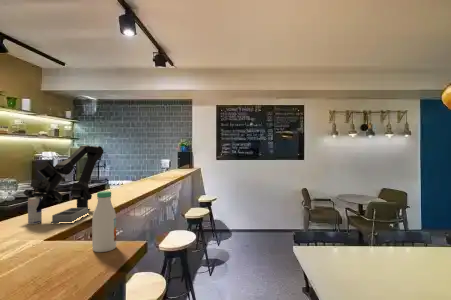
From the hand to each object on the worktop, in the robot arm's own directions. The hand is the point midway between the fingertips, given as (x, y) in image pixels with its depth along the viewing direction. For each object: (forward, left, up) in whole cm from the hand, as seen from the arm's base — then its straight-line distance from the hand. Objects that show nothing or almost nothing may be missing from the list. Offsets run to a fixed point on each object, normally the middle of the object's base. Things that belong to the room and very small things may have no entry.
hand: (32, 209), depth 134 cm
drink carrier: (-8, +14, -7) cm, 17 cm away
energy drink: (-1, 0, -7) cm, 7 cm away
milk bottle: (+35, +47, -7) cm, 59 cm away
